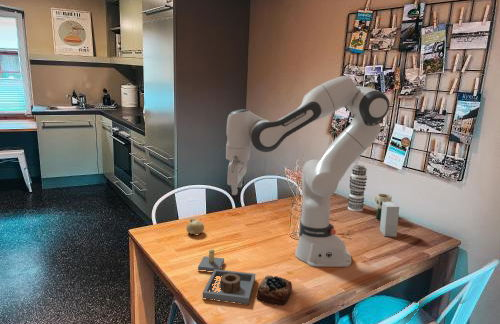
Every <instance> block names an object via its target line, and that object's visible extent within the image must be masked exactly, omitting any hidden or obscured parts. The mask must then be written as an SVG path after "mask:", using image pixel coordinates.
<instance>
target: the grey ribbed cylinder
mask: <svg viewBox="0 0 500 324" xmlns="http://www.w3.org/2000/svg"><path fill="white" fill-rule="evenodd" d="M367 170H368V169H367V168H366V167H365V166H364V165H361V164H356V165H354V166H353V167H351V176H349V195H348V199H347V200H348V202H347V209H348V210H350V211H352V212H362V211H363V210H364V205H365V204H364V202H365V190H366V186H367V184H366V183H367V180H368V178H367V177H368V176H367Z"/></svg>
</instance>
